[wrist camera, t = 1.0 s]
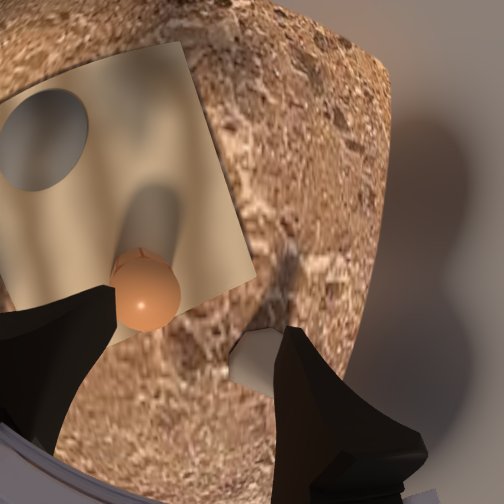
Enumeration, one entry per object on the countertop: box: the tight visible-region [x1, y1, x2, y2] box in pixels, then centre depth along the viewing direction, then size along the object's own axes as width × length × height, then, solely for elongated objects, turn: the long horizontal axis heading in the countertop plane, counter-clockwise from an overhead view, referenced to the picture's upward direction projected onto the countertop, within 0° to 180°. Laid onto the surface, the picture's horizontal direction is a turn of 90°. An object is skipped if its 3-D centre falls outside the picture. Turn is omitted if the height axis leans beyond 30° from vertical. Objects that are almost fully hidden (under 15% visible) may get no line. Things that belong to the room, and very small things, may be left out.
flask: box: [229, 327, 283, 399], centre depth 23 cm, size 7×7×10 cm
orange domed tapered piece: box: [109, 247, 181, 331], centre depth 18 cm, size 4×4×5 cm
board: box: [0, 41, 257, 348], centre depth 16 cm, size 20×22×6 cm
